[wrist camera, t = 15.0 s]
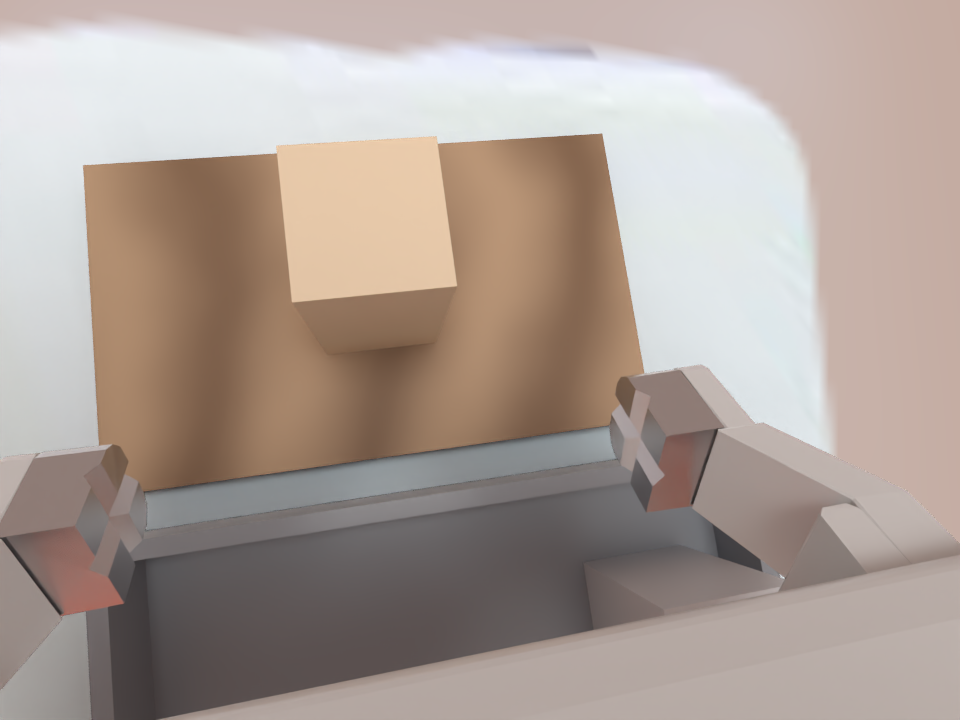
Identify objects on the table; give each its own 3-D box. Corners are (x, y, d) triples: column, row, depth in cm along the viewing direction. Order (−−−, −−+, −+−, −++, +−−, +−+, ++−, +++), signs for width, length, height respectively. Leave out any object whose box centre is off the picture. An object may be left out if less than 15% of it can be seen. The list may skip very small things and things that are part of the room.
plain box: (600, 672, 22) (690, 769, 16) (583, 562, 23) (663, 609, 16) (699, 651, 23) (827, 736, 16) (680, 545, 24) (797, 583, 17)
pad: (118, 494, 22) (102, 497, 20) (99, 179, 23) (83, 165, 22) (640, 420, 25) (652, 419, 24) (592, 147, 26) (601, 133, 25)
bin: (153, 875, 20) (104, 962, 17) (132, 532, 21) (82, 548, 18) (757, 731, 24) (819, 779, 20) (704, 445, 25) (753, 445, 22)
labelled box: (328, 354, 22) (292, 302, 14) (316, 247, 23) (275, 140, 15) (435, 342, 23) (457, 286, 15) (421, 238, 23) (435, 130, 16)
